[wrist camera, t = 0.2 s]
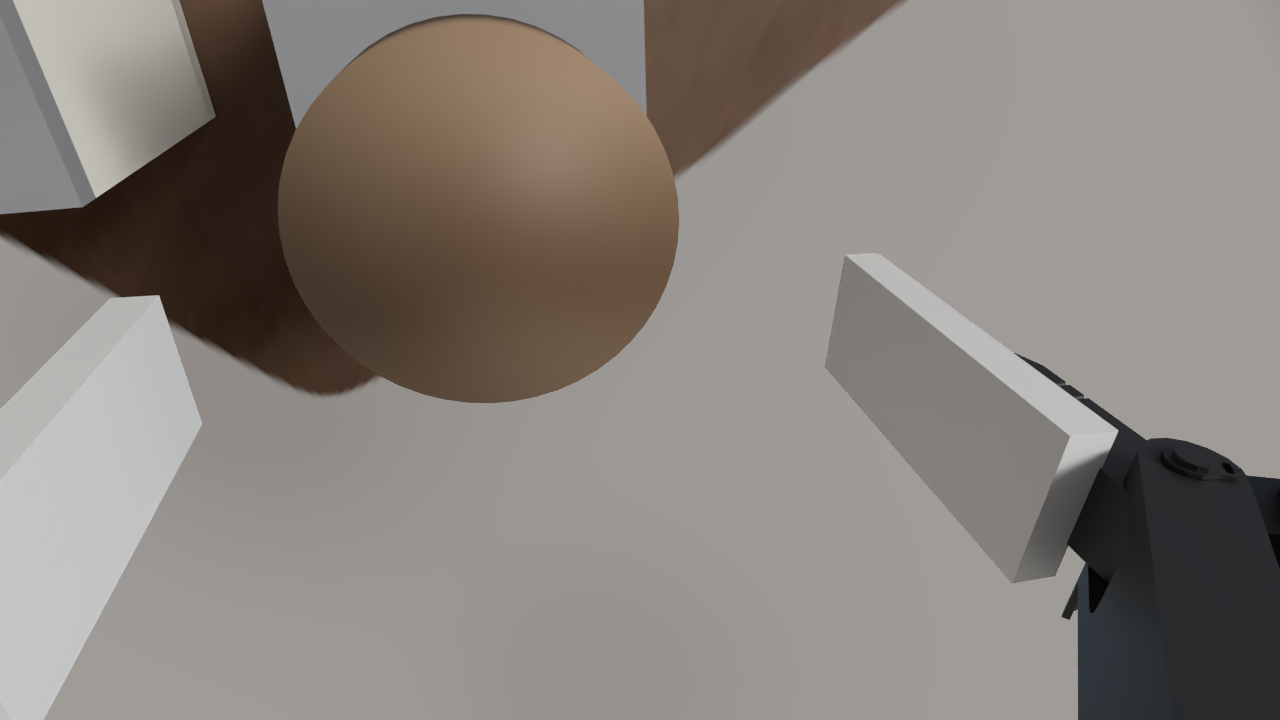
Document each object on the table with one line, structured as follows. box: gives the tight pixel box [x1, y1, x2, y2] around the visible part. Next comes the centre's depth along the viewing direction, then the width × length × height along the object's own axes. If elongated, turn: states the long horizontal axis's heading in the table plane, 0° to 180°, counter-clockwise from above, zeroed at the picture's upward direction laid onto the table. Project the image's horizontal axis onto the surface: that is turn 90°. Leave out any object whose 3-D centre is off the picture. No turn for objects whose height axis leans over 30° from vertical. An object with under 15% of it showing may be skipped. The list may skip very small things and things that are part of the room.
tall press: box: [262, 0, 646, 129], centre depth 29 cm, size 10×10×19 cm
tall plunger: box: [277, 14, 679, 403], centre depth 19 cm, size 7×7×20 cm
